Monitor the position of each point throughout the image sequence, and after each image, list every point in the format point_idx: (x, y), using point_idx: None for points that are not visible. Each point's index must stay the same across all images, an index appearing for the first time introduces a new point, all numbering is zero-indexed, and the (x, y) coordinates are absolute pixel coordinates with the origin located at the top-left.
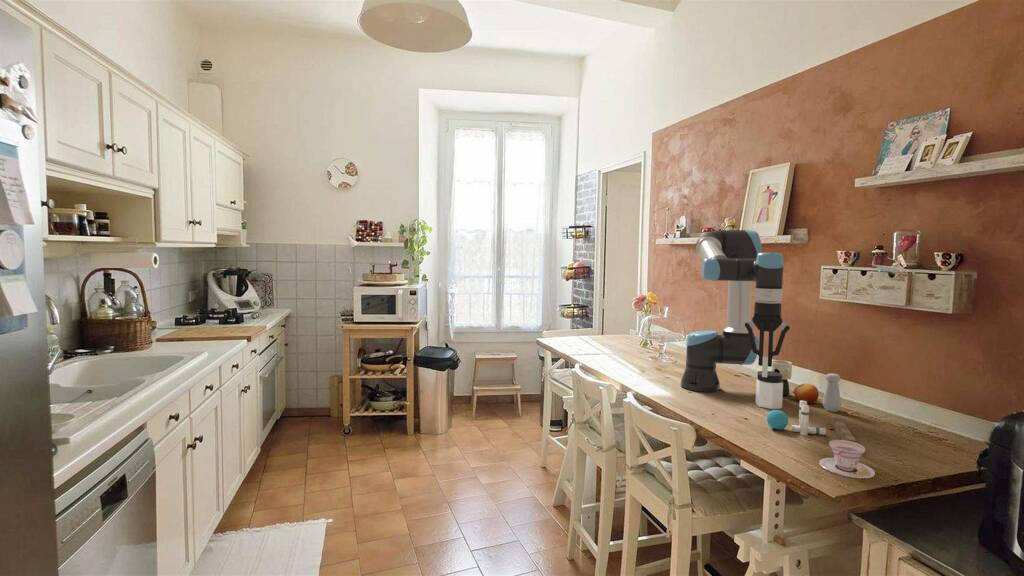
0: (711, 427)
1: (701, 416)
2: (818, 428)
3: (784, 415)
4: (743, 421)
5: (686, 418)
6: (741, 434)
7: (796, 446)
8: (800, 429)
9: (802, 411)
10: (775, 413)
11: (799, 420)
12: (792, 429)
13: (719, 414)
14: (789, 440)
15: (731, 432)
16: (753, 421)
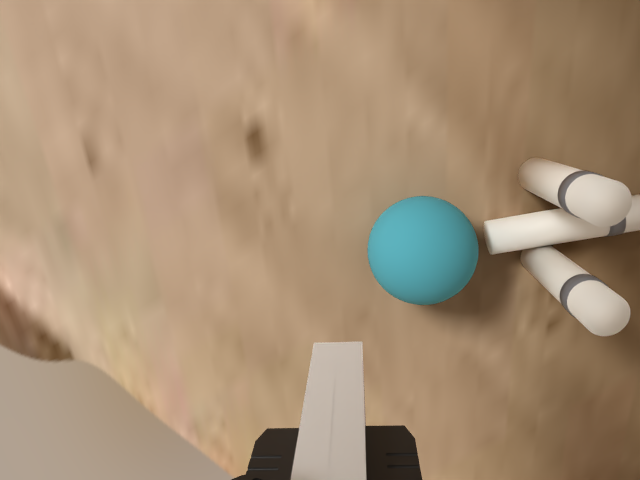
0: (145, 373)
1: (58, 234)
2: (622, 229)
3: (462, 283)
4: (253, 200)
5: (12, 305)
6: (275, 398)
7: (493, 430)
8: (528, 266)
9: (572, 314)
10: (415, 294)
11: (536, 193)
12: (489, 250)
13: (122, 143)
14: (468, 371)
15: (234, 394)
16: (298, 170)
